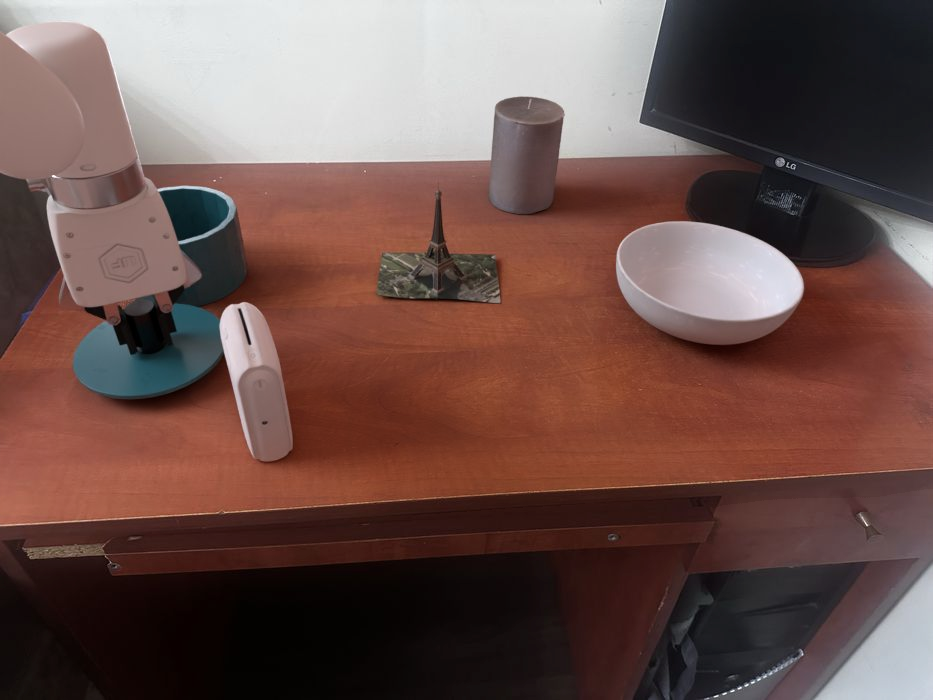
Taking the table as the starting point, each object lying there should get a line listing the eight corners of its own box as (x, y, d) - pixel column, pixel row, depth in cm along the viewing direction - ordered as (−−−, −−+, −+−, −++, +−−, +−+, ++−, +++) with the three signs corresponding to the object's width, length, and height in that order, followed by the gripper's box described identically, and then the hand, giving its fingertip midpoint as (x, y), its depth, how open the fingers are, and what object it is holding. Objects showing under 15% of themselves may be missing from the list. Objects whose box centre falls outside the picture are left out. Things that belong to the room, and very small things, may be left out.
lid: (82, 422, 67) (60, 374, 63) (70, 331, 77) (51, 285, 73) (242, 377, 72) (232, 331, 68) (212, 298, 82) (201, 253, 78)
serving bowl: (823, 337, 82) (846, 288, 78) (688, 393, 74) (705, 342, 70) (698, 250, 96) (711, 205, 92) (572, 290, 88) (580, 242, 83)
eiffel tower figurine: (496, 257, 93) (503, 162, 84) (500, 303, 85) (508, 203, 77) (382, 255, 92) (377, 159, 84) (375, 300, 85) (369, 200, 76)
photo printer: (299, 456, 66) (281, 354, 58) (252, 469, 64) (227, 366, 56) (277, 385, 73) (258, 286, 65) (234, 395, 71) (210, 295, 63)
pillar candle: (494, 180, 110) (500, 83, 100) (556, 188, 109) (569, 91, 99) (482, 210, 102) (488, 108, 93) (549, 219, 101) (562, 117, 92)
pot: (136, 321, 80) (115, 257, 74) (121, 258, 90) (101, 198, 84) (260, 292, 85) (248, 230, 80) (233, 236, 95) (221, 177, 89)
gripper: (-10, 217, 56) (66, 387, 68) (202, 180, 62) (238, 342, 74) (-9, 177, 61) (61, 341, 73) (186, 147, 67) (222, 303, 79)
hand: (150, 340), depth 73 cm, fingers closed on lid, 2 cm apart
